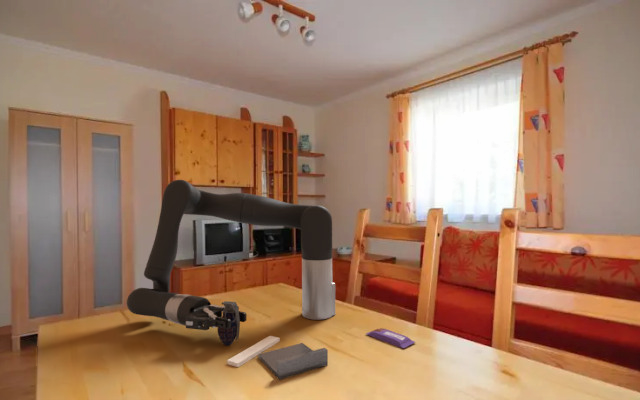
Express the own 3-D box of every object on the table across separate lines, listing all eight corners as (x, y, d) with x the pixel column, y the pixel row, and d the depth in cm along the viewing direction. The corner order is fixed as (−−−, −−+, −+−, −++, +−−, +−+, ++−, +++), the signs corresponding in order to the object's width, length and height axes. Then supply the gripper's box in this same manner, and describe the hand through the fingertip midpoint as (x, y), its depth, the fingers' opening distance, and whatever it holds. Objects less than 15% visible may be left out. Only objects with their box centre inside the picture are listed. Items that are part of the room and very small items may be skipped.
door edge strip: (269, 338, 84) (269, 335, 84) (279, 341, 82) (279, 337, 82) (227, 364, 71) (227, 360, 71) (237, 367, 69) (237, 363, 69)
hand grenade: (245, 342, 82) (245, 301, 82) (234, 350, 77) (234, 306, 77) (225, 339, 84) (225, 298, 84) (213, 346, 79) (213, 303, 79)
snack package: (415, 337, 81) (403, 344, 77) (416, 346, 81) (403, 352, 77) (377, 324, 89) (365, 330, 86) (377, 332, 89) (365, 337, 86)
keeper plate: (302, 346, 79) (302, 332, 79) (327, 365, 70) (327, 349, 70) (258, 357, 74) (258, 343, 74) (279, 379, 64) (279, 363, 64)
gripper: (163, 302, 81) (215, 313, 73) (209, 289, 94) (257, 297, 85) (163, 334, 81) (215, 348, 73) (209, 316, 94) (257, 326, 85)
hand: (237, 320), depth 79 cm, fingers closed on hand grenade, 4 cm apart
